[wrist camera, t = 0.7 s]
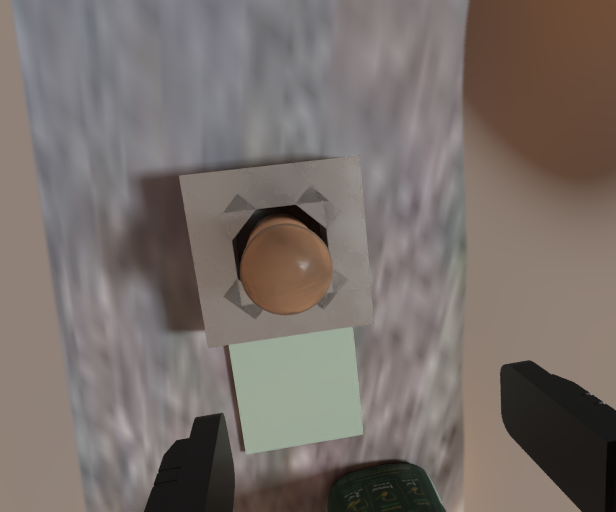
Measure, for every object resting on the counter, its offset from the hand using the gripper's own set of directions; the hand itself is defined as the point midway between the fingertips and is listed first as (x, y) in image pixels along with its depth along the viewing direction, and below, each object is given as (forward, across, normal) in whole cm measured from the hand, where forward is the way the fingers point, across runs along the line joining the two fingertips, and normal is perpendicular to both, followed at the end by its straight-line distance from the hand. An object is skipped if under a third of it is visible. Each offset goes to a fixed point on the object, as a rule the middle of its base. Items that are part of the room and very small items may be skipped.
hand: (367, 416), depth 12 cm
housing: (+21, +1, -1) cm, 21 cm away
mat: (+21, +2, +11) cm, 23 cm away
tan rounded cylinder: (+21, +1, -1) cm, 21 cm away
